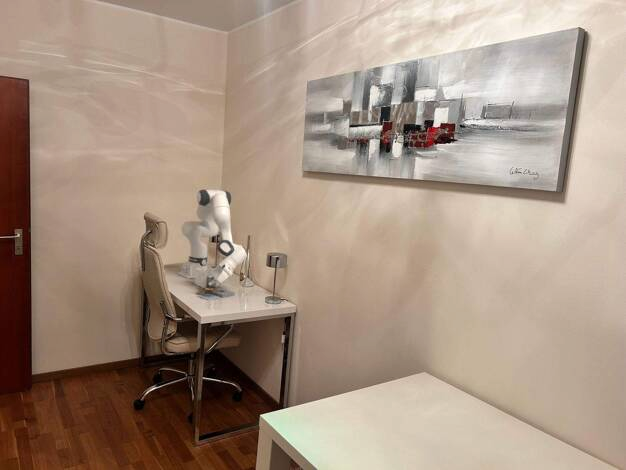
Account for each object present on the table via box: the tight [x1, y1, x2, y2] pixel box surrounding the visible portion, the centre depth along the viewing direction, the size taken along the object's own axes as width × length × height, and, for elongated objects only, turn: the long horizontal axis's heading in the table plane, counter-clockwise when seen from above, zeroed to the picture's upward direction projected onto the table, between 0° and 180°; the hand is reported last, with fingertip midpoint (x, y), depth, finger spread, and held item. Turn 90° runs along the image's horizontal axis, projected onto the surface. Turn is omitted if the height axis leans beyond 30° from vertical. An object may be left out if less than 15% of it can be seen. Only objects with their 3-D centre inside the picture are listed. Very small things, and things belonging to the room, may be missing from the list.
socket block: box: [207, 287, 236, 299], centre depth 298 cm, size 14×10×3 cm
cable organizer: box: [194, 266, 219, 290], centre depth 314 cm, size 15×11×12 cm
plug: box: [204, 275, 214, 294], centre depth 288 cm, size 5×5×10 cm
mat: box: [196, 293, 221, 301], centre depth 289 cm, size 10×9×1 cm
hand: (208, 283), depth 287 cm, fingers closed on plug, 4 cm apart
